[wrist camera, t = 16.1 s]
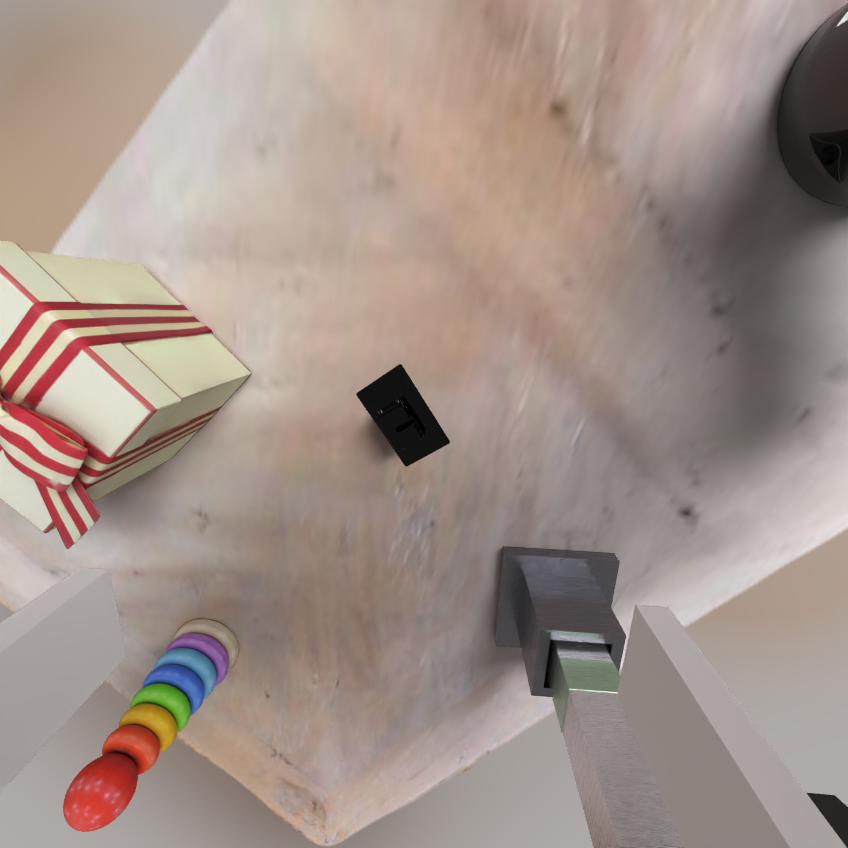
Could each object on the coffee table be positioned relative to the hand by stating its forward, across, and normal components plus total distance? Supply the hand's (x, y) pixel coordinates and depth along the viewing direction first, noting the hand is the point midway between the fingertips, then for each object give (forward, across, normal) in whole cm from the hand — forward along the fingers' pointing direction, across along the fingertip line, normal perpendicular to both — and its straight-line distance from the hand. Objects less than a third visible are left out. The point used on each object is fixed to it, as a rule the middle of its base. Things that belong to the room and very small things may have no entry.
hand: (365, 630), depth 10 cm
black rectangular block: (+32, -2, -3) cm, 33 cm away
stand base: (+32, +15, -23) cm, 42 cm away
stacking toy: (+32, -26, -33) cm, 53 cm away
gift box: (+32, -28, 0) cm, 43 cm away
